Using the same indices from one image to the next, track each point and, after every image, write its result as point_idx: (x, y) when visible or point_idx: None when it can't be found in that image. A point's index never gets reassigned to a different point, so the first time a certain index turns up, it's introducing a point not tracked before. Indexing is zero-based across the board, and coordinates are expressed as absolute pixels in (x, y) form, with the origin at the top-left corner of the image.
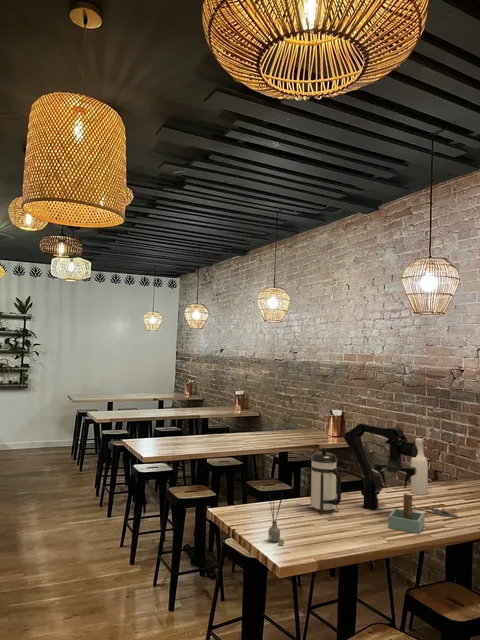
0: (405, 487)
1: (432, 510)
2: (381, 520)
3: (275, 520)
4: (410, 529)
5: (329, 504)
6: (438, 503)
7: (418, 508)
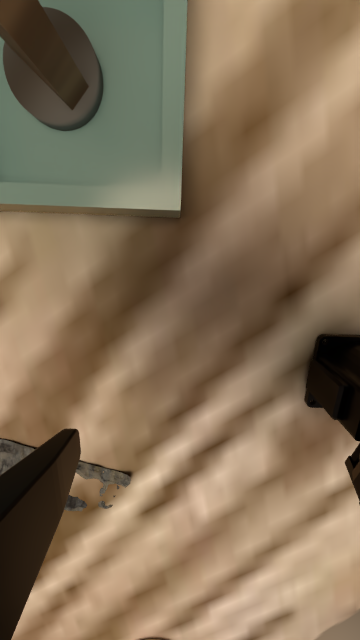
0: (53, 438)
1: None
2: (259, 140)
3: None
4: None
5: None
6: (49, 582)
7: (106, 479)
